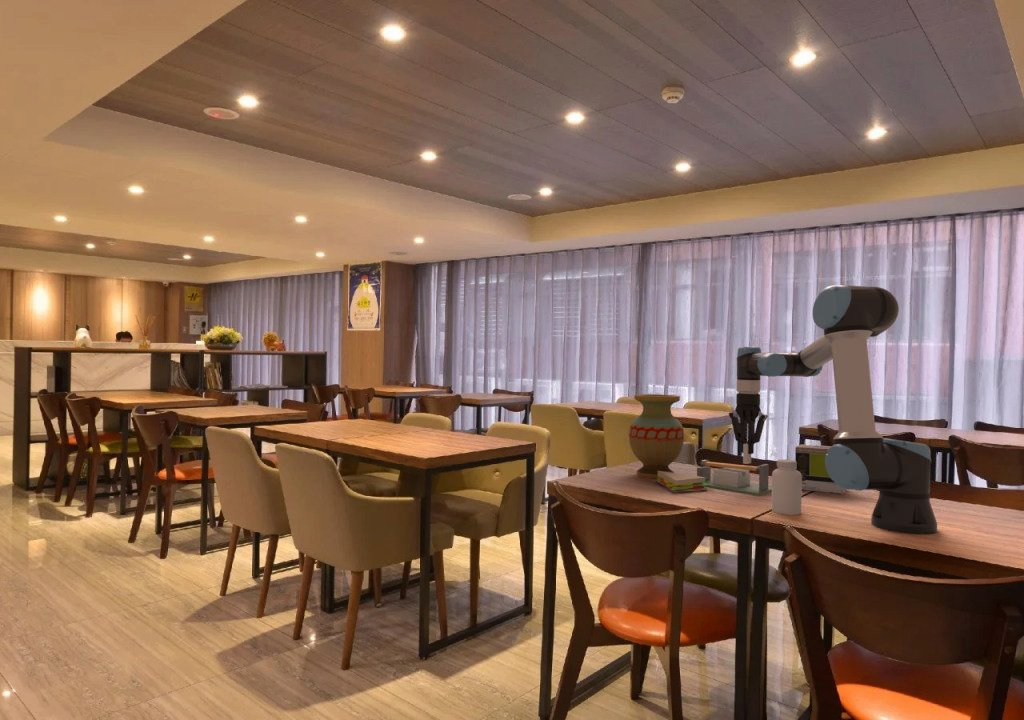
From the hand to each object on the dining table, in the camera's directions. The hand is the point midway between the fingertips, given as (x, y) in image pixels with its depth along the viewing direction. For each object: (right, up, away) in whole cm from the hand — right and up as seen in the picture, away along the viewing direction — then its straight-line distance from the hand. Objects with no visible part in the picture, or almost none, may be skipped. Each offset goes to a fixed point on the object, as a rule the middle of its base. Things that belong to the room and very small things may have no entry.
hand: (747, 463), depth 229 cm
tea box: (+26, -10, +3) cm, 28 cm away
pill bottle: (0, -9, -33) cm, 34 cm away
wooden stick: (-5, -3, +5) cm, 7 cm away
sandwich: (-23, -9, +1) cm, 25 cm away
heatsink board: (-4, -9, +4) cm, 11 cm away
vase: (-26, -9, +23) cm, 35 cm away
